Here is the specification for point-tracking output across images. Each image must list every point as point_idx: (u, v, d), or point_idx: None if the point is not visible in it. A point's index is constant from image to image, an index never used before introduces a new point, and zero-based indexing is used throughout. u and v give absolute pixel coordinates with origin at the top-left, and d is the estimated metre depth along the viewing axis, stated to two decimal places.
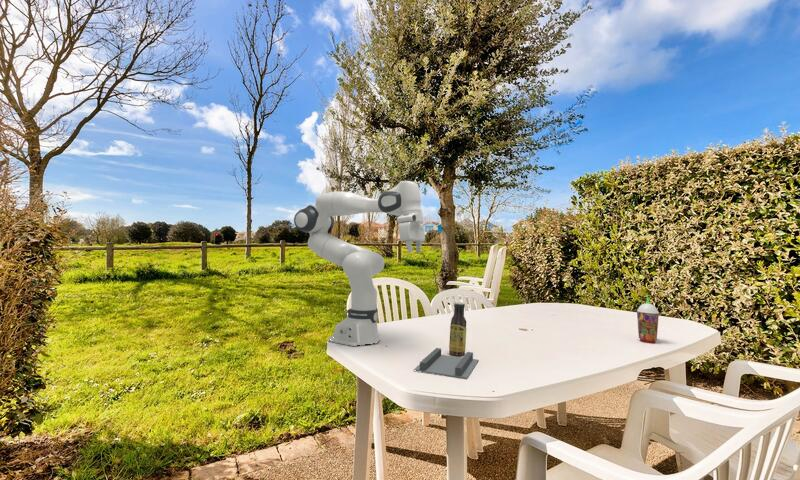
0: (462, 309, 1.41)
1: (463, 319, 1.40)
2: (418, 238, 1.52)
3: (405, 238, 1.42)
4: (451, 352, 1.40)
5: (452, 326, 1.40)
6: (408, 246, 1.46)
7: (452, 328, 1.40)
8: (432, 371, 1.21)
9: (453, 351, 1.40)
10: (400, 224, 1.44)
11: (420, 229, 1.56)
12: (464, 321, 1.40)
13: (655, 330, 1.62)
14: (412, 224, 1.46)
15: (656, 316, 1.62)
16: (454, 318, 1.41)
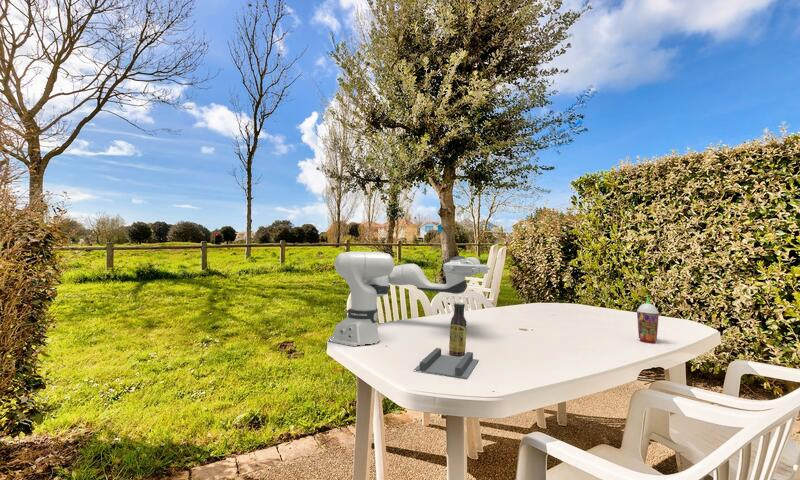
0: (462, 309, 1.41)
1: (463, 319, 1.40)
2: (467, 264, 1.66)
3: (443, 267, 1.70)
4: (451, 352, 1.40)
5: (452, 326, 1.40)
6: None
7: (452, 328, 1.40)
8: (432, 371, 1.21)
9: (453, 351, 1.40)
10: None
11: (478, 265, 1.69)
12: (464, 321, 1.40)
13: (655, 330, 1.62)
14: (454, 262, 1.74)
15: (656, 316, 1.62)
16: (454, 318, 1.41)
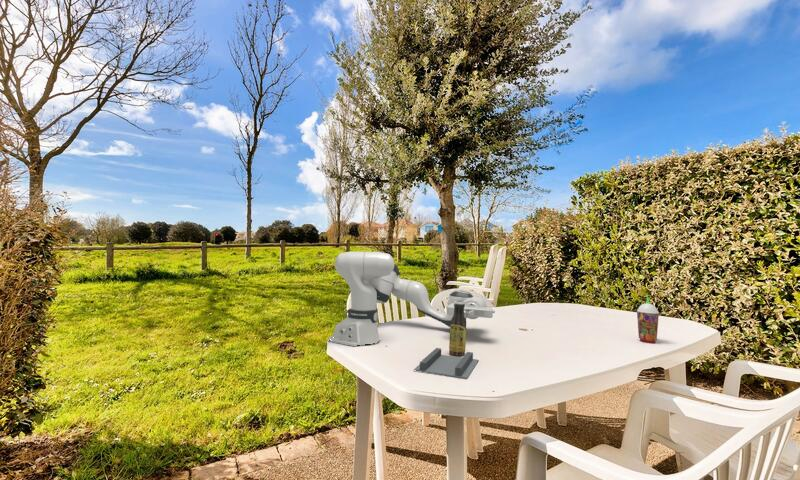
0: (462, 309, 1.41)
1: (463, 319, 1.40)
2: (471, 308, 1.61)
3: (447, 309, 1.65)
4: (451, 352, 1.40)
5: (452, 326, 1.40)
6: None
7: (452, 328, 1.40)
8: (432, 371, 1.21)
9: (453, 351, 1.40)
10: None
11: (482, 308, 1.63)
12: (464, 321, 1.40)
13: (655, 330, 1.62)
14: None
15: (656, 316, 1.62)
16: (454, 318, 1.41)
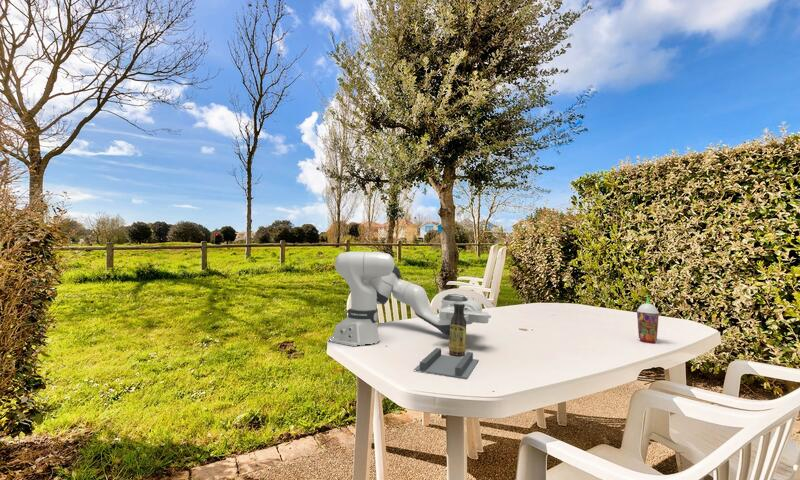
0: (462, 309, 1.40)
1: (463, 319, 1.40)
2: (465, 312, 1.49)
3: (439, 313, 1.53)
4: (451, 352, 1.40)
5: (452, 326, 1.40)
6: None
7: (452, 328, 1.40)
8: (432, 371, 1.21)
9: (453, 351, 1.40)
10: None
11: (477, 312, 1.52)
12: (464, 321, 1.40)
13: (655, 330, 1.62)
14: (452, 308, 1.57)
15: (656, 316, 1.62)
16: (454, 318, 1.40)
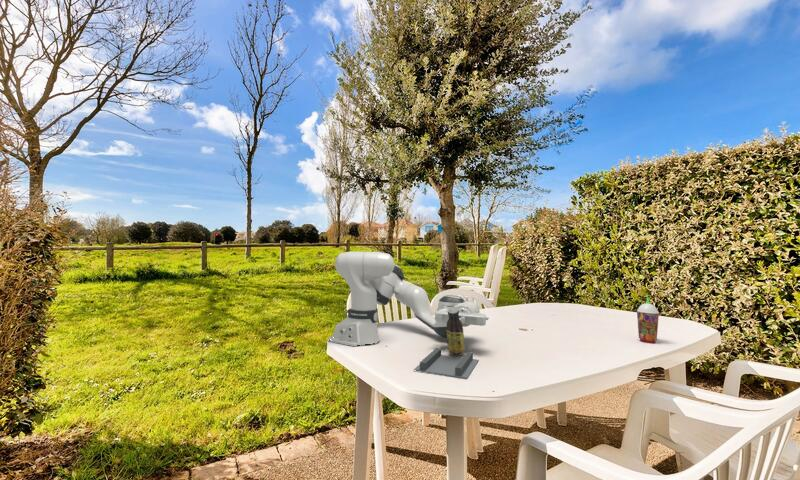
0: (456, 316, 1.33)
1: (458, 325, 1.34)
2: (462, 314, 1.44)
3: (435, 315, 1.48)
4: (451, 352, 1.40)
5: (448, 332, 1.35)
6: None
7: (448, 334, 1.36)
8: (432, 371, 1.21)
9: (452, 352, 1.39)
10: None
11: (474, 314, 1.46)
12: (460, 326, 1.34)
13: (655, 330, 1.62)
14: None
15: (656, 316, 1.62)
16: (449, 325, 1.34)
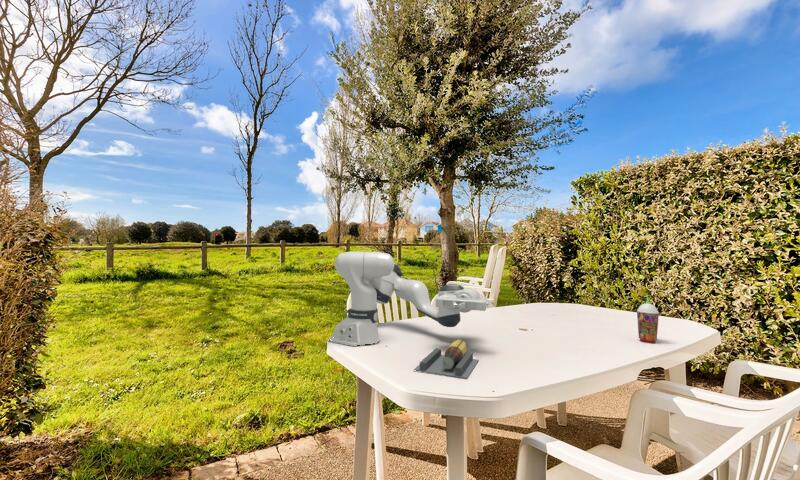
0: None
1: (456, 363, 1.25)
2: (462, 299, 1.45)
3: None
4: None
5: None
6: None
7: None
8: (432, 371, 1.21)
9: None
10: None
11: (475, 300, 1.47)
12: (457, 363, 1.26)
13: (655, 330, 1.62)
14: (449, 295, 1.52)
15: (656, 316, 1.62)
16: None
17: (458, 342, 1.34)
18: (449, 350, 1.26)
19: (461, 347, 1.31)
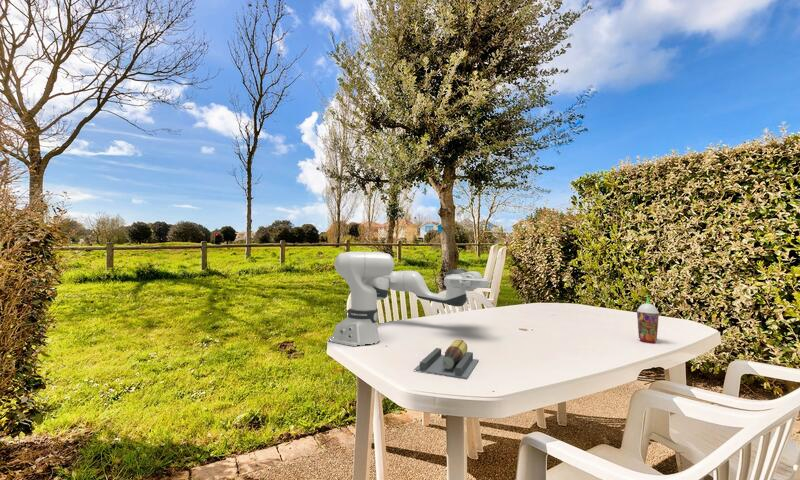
0: None
1: (456, 363, 1.25)
2: (468, 278, 1.65)
3: (444, 280, 1.69)
4: None
5: None
6: (459, 283, 1.63)
7: None
8: (432, 371, 1.21)
9: None
10: None
11: None
12: None
13: (655, 330, 1.62)
14: (455, 276, 1.72)
15: (656, 316, 1.62)
16: None
17: (458, 342, 1.34)
18: (449, 350, 1.26)
19: (461, 347, 1.31)
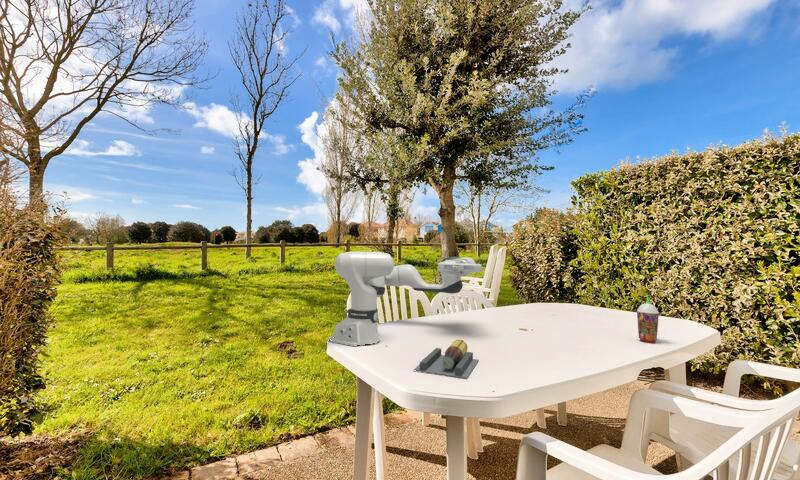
0: None
1: (456, 363, 1.25)
2: (461, 264, 1.69)
3: (438, 266, 1.72)
4: None
5: None
6: (453, 268, 1.67)
7: None
8: (432, 371, 1.21)
9: None
10: None
11: None
12: None
13: (655, 330, 1.62)
14: (449, 261, 1.76)
15: (656, 316, 1.62)
16: None
17: (458, 342, 1.34)
18: (449, 350, 1.26)
19: (461, 347, 1.31)
